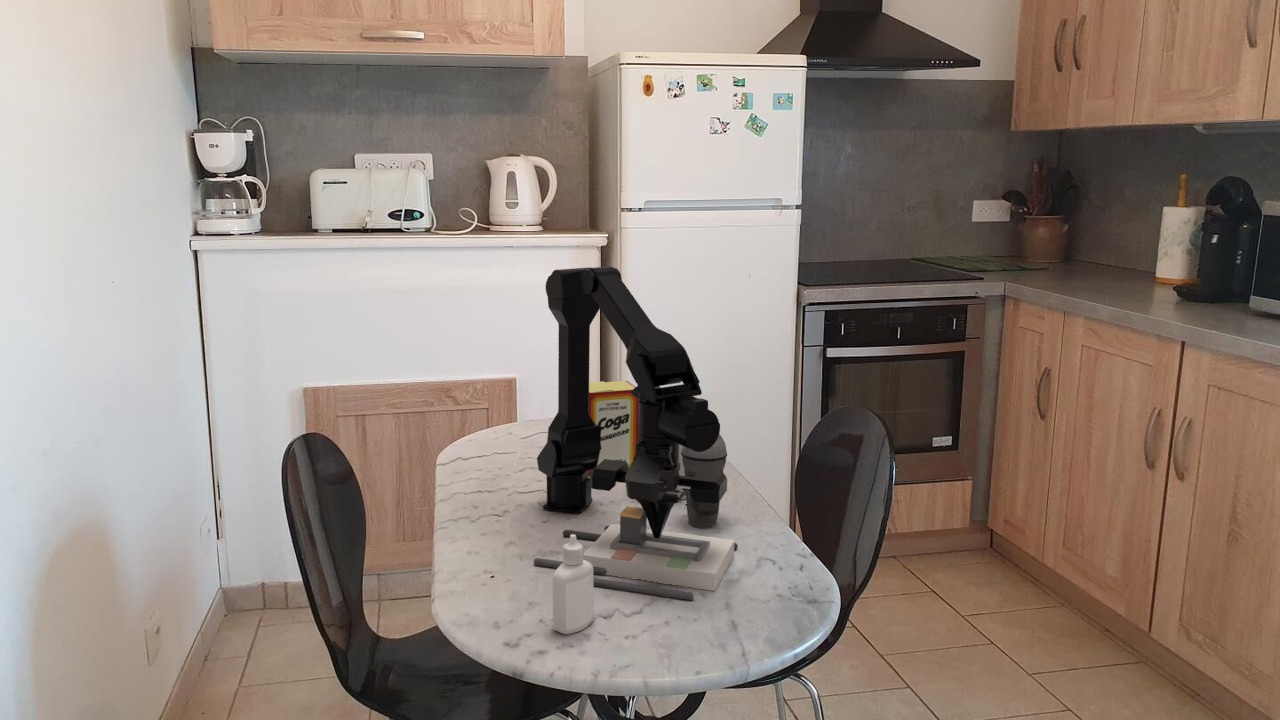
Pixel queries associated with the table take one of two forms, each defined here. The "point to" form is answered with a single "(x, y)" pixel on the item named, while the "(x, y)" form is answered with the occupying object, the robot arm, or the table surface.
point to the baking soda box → (615, 419)
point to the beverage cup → (693, 462)
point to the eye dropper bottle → (573, 590)
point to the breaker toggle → (633, 526)
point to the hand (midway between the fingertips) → (657, 537)
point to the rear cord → (594, 535)
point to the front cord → (622, 584)
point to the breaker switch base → (664, 558)
